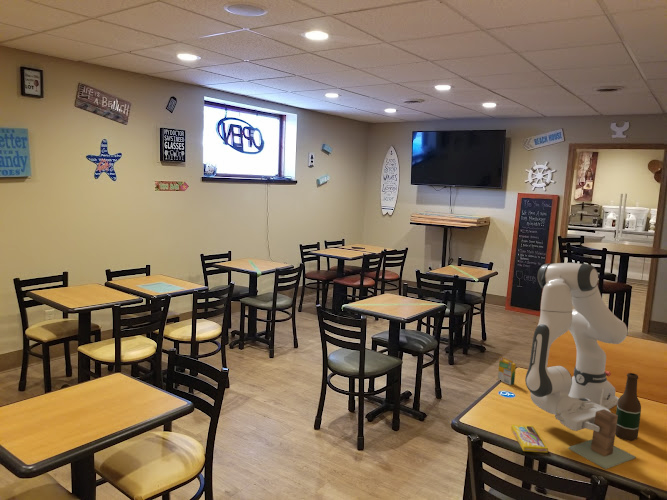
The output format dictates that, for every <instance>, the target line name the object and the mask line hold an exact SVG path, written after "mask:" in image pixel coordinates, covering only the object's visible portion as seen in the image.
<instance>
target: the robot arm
mask: <svg viewBox="0 0 667 500" xmlns="http://www.w3.org/2000/svg"><path fill="white" fill-rule="evenodd" d="M536 277H537V278H536V279H537V282H538V284H539V286H540V288H541V289H542V293H541V300H540V313H539V314H540V315H539V320H538V324H537V325H536V328H535V330H534V331H533V337H532V342H531V343H532V346H531V351H530V357H529V365H528V369H527V371H526V374H525V378H524V379H525V380H524V381H525V385H526V389H528V391H529V393H530V399H531V401H532V403H533V404H534V405H536V406H537V407H538V408H539V409H541V410H542V411H545V412H546V413H548V414H550V415H554V417H555V419H556V420H557V421H559V422H560V424H562V425H563V426H564V427H566V428H567V429H570V430H571V431H574V432H575V431H576V432H578V431H580V430H581V431H582V430H584V429H585V430H591V431H593V430H594V431H597V432H599V431H601V426H599V425H597V424H596V425H595V424H594V423H595V415H596V411H600V410H603V409H605V410H607V411H609V412H611V413H612V411H611V410H610V409H612V408H614V407H615V406H617V402H618V399H619V398H620V397H618V396H616V388H615V386H613V384H612V383H611V382H610V381H608V379H607V377H611V375H612V373H611V371H608V370H606V362H607V354H606V352H605V351H604V349H603V348H601V346H600V345H599V343H598V341H599V342H602V343H605V344H612V345H618V344H621V343H622V342H624V341H625V340H626V339H627V335H628V327H627V324H626V323H625V322H624V321H622V320H621V319H620V318H619V317H617V316H616V315H615V314H614V313H613V312H612V311H611V310H610V309H609V307H608V306H607V305H606V303H605V302H604V300H603V297H602V294H601V292H600V289H599V286H598V285H599V284H598V283H599V272H598V270H597V268H595V266H594V265H591V264H588V263H577V262H557V263H552V262H551V263H545V264H541V266H540V267H539V269H538V271H537V276H536ZM568 331H569V332H570V334H571V336H572V337H573V340H574V341H573V342H574V343H575V348H576V359H575V361H576V362H575V366H574V369H573V376H572V375H571V373H570V371H569V370H568V369H567V368H566V367H564V366H563V365H562V366H561V365H555V366H554V365H553V366H548V364H549V363H548V362H549V356H550V348H551V346H552V344H553V343H554V341H556V340H557V339H558V338H560V337H561V336H563V335H564V334H566V333H567V332H568Z"/></svg>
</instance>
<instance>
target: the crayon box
mask: <svg viewBox="0 0 667 500" xmlns="http://www.w3.org/2000/svg"><path fill="white" fill-rule="evenodd" d="M516 368H517V363H514V362H513V360H511V359H508V358H506V357H502V356H499V360H498V372H497V381H500V380H501V381H500V382H502V383H505V384H507V385H509V386H512V385H514V384H515V378H516Z"/></svg>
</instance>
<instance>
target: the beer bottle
mask: <svg viewBox="0 0 667 500" xmlns="http://www.w3.org/2000/svg"><path fill="white" fill-rule="evenodd" d="M626 377H627V378H626V382H625V387H624V388H625V389H624V391H623V393H622V394H621V395H620V396H619V397H618V398H619V399H618V402H617V405H616V409H615V410H616V411H615V414H616V415H618V418H617V425H616V433H615V437H617V438H619V439H622V440H623V441H629V442H635V441H636V440H638V437H639V430H640V421H641V414H642V405H641V401H640V399H639V398H638V379H639V375H638V374H637V373H633V372H629V373H627V374H626Z"/></svg>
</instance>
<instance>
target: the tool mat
mask: <svg viewBox="0 0 667 500" xmlns="http://www.w3.org/2000/svg"><path fill="white" fill-rule="evenodd" d="M591 445H592V439H590V440H585V441H583V442H580V443H576V444H574V445H571V446H568V450H569V451H571V452H574V454H577V455H579V456H581V457H583V458H585V459H586V460H588V461H590V462H591V463H594V464H595V465H597V466H599V467H600V468H602V469H605V470H608V469H611V468H613V467H616V466H619V465H621V464H623V463H626V462H629V461H631V460H633V459H636V455H633V454H631V453H630V452H628V451H625V450H623V449H621V448H620V447H617V446H615V445H614V447H613V454H610V455H608V456H605V457H604V456H602V455H600V454H598V453H597V452H595V451H593V450H591Z"/></svg>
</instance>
